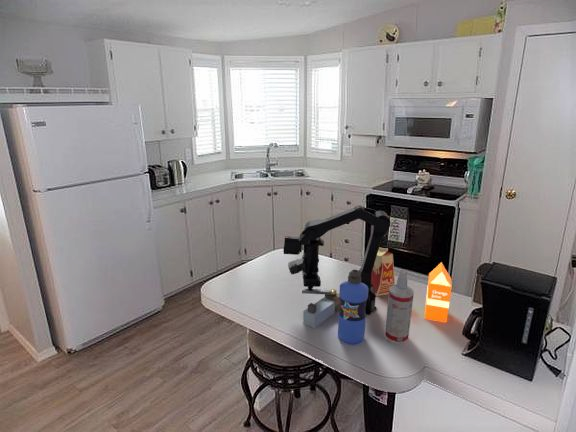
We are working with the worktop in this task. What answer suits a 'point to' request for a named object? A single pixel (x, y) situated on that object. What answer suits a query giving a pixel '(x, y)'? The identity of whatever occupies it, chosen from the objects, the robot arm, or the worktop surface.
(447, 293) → the orange juice
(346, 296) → the blue bottle
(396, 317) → the spray bottle
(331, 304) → the blue-grey block
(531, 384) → the worktop surface
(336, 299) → the tan wooden block
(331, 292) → the bar
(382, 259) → the milk carton
